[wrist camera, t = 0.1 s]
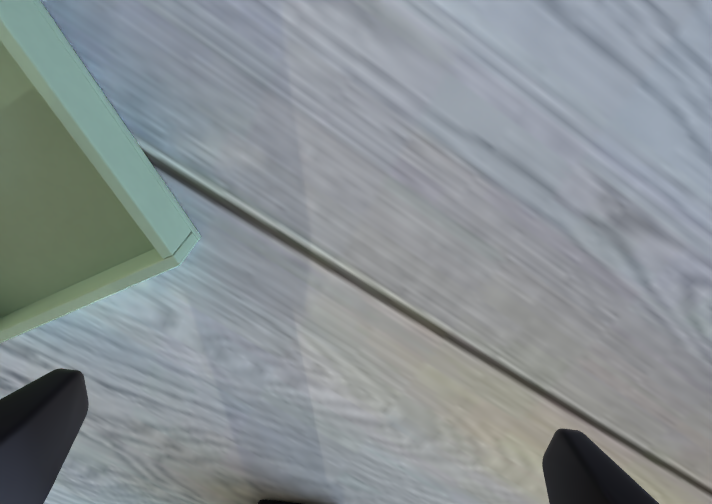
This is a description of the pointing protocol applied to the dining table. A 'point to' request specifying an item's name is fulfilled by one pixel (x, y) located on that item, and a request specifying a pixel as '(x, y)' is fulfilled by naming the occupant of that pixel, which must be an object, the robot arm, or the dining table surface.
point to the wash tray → (71, 183)
